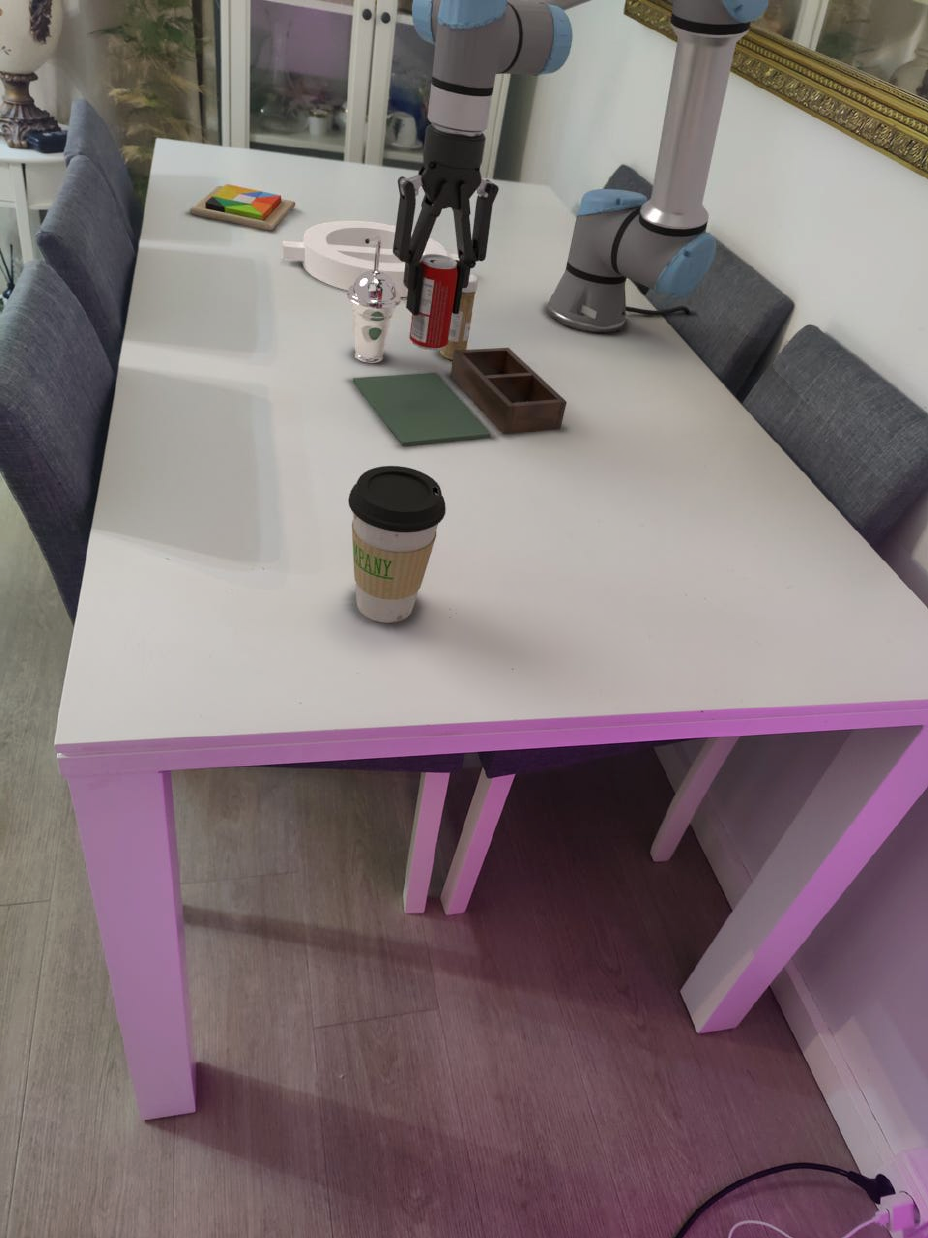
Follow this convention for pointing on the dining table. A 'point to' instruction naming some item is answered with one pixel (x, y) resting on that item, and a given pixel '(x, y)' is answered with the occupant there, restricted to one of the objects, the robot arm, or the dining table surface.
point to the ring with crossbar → (351, 252)
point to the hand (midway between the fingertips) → (432, 310)
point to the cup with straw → (372, 309)
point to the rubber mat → (420, 409)
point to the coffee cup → (392, 538)
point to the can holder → (507, 390)
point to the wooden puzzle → (243, 206)
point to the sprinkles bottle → (461, 321)
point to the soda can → (435, 303)
